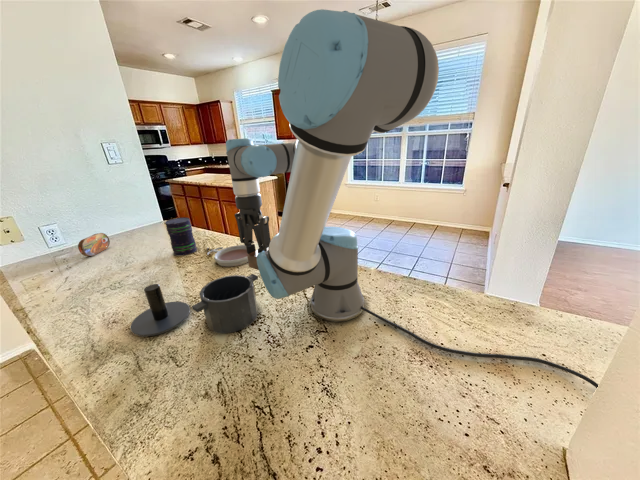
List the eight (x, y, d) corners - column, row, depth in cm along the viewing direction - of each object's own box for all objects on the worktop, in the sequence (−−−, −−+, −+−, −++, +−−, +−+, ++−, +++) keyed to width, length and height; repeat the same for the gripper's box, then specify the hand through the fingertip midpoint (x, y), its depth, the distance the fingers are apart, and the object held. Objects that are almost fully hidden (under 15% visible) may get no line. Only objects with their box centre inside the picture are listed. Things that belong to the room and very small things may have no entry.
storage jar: (182, 247, 127) (174, 217, 121) (201, 247, 125) (194, 217, 120) (168, 255, 117) (159, 224, 112) (188, 256, 116) (180, 223, 111)
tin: (87, 258, 119) (80, 241, 116) (80, 259, 119) (73, 241, 116) (112, 246, 133) (106, 230, 130) (106, 246, 134) (100, 230, 130)
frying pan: (220, 239, 127) (263, 247, 113) (222, 245, 128) (264, 254, 114) (188, 252, 114) (232, 263, 99) (190, 258, 115) (234, 270, 100)
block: (268, 264, 87) (267, 252, 85) (258, 270, 83) (256, 257, 82) (259, 261, 89) (257, 249, 88) (249, 267, 86) (247, 254, 84)
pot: (274, 307, 77) (270, 278, 74) (217, 347, 63) (209, 314, 60) (244, 293, 85) (239, 267, 81) (188, 326, 71) (179, 296, 67)
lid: (200, 315, 75) (192, 282, 72) (145, 346, 65) (132, 310, 61) (175, 299, 84) (166, 269, 80) (123, 325, 73) (109, 292, 69)
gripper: (277, 193, 76) (286, 266, 84) (239, 190, 86) (250, 255, 94) (257, 198, 70) (269, 276, 78) (219, 194, 80) (232, 263, 88)
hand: (258, 265), depth 86 cm, fingers closed on block, 4 cm apart
